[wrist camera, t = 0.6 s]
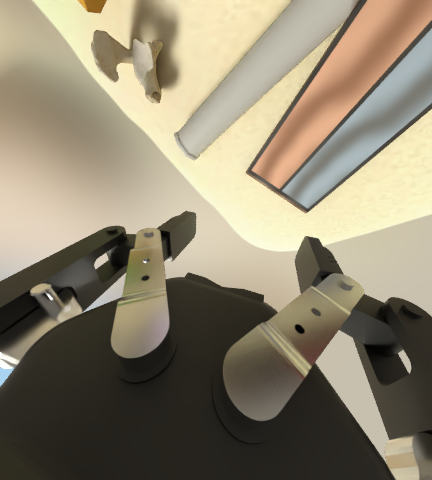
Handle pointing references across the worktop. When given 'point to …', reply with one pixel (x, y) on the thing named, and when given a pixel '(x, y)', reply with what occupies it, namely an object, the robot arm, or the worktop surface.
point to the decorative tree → (93, 5)
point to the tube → (262, 68)
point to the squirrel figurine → (128, 61)
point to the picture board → (352, 102)
